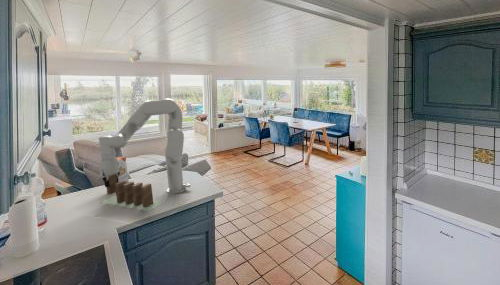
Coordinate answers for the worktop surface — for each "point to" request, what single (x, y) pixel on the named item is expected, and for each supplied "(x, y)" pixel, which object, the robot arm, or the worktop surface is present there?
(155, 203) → the mat
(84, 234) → the worktop surface
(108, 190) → the domino
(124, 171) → the cracker box
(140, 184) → the domino
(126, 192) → the domino
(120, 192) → the domino
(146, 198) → the domino
